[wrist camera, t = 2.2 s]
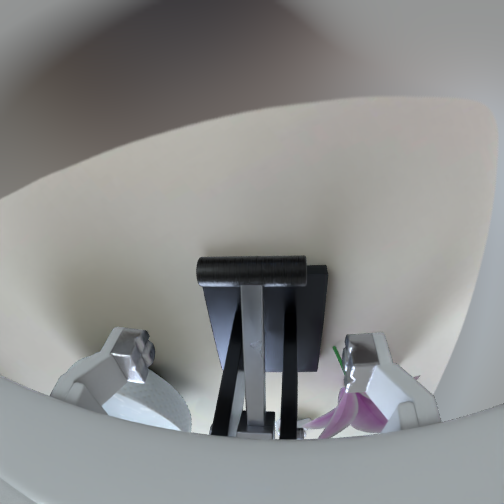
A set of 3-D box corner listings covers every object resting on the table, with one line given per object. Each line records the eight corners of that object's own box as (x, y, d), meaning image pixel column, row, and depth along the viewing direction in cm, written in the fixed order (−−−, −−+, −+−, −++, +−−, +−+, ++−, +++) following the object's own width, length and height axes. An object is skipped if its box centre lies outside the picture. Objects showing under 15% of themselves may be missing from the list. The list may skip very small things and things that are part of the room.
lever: (205, 254, 17) (192, 260, 15) (304, 252, 16) (307, 258, 14) (220, 437, 18) (213, 458, 16) (298, 440, 18) (298, 463, 15)
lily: (284, 381, 33) (312, 454, 27) (274, 356, 23) (316, 464, 17) (376, 342, 33) (408, 409, 27) (401, 300, 24) (450, 393, 18)
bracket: (203, 266, 23) (149, 411, 13) (326, 264, 22) (349, 421, 11) (223, 361, 30) (201, 475, 19) (316, 362, 29) (320, 481, 18)
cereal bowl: (137, 319, 28) (110, 375, 22) (225, 404, 35) (217, 452, 29) (60, 346, 33) (37, 384, 27) (138, 412, 40) (125, 449, 34)
